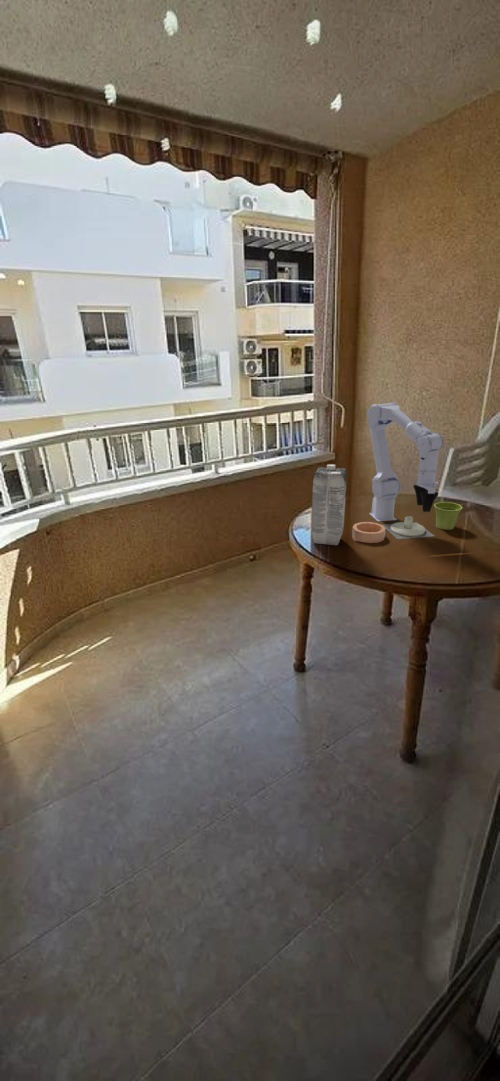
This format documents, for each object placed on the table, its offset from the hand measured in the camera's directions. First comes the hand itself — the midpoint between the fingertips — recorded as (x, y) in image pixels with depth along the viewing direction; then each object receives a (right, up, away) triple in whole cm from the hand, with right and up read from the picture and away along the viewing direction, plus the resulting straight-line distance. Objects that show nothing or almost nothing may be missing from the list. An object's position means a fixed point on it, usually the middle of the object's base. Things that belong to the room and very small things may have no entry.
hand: (423, 508), depth 154 cm
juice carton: (-34, -12, +1) cm, 36 cm away
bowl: (-19, -11, +3) cm, 22 cm away
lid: (-3, -8, +6) cm, 11 cm away
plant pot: (+12, -7, +9) cm, 16 cm away
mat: (-3, -8, +7) cm, 11 cm away
